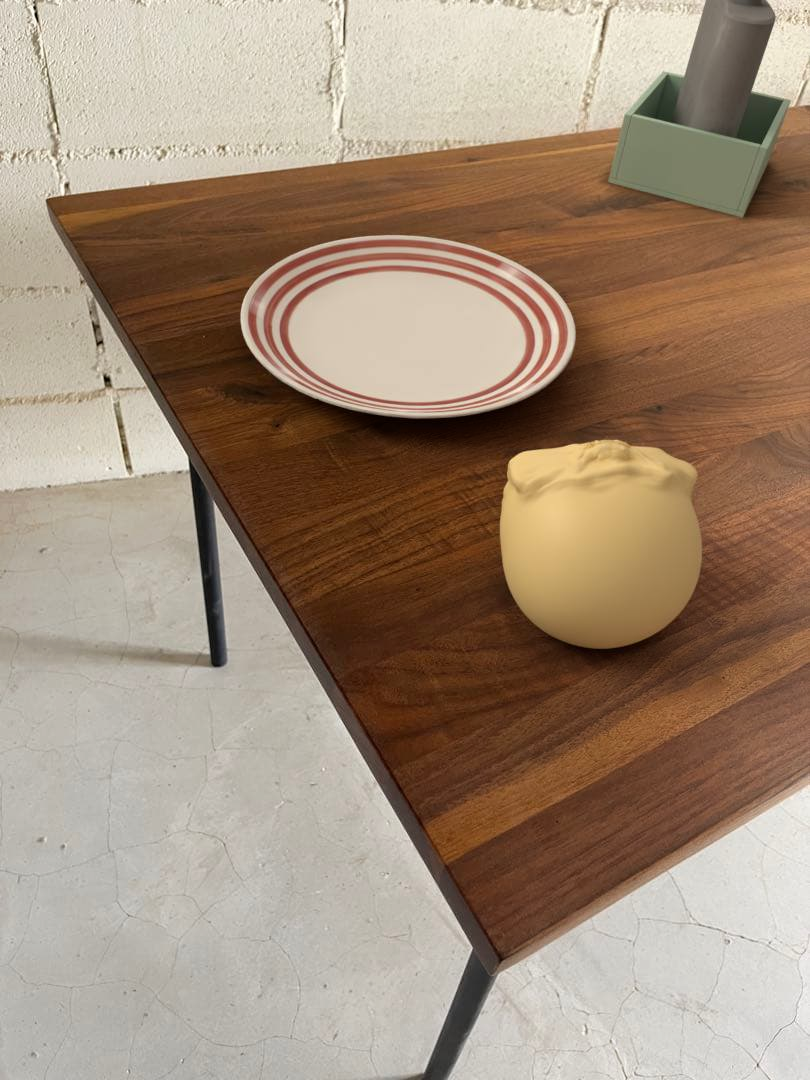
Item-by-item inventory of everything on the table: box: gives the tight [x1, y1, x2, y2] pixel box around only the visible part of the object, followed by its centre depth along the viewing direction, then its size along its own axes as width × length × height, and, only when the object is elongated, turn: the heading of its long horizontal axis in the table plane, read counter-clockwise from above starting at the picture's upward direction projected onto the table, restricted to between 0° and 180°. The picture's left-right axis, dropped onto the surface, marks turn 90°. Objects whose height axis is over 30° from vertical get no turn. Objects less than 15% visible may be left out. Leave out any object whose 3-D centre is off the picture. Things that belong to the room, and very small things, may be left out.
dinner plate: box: [240, 234, 577, 419], centre depth 74 cm, size 28×27×3 cm
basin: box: [607, 70, 792, 218], centre depth 103 cm, size 16×18×8 cm
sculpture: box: [499, 439, 703, 650], centre depth 52 cm, size 12×12×11 cm
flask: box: [671, 0, 776, 138], centre depth 99 cm, size 15×6×20 cm, turn 175°
